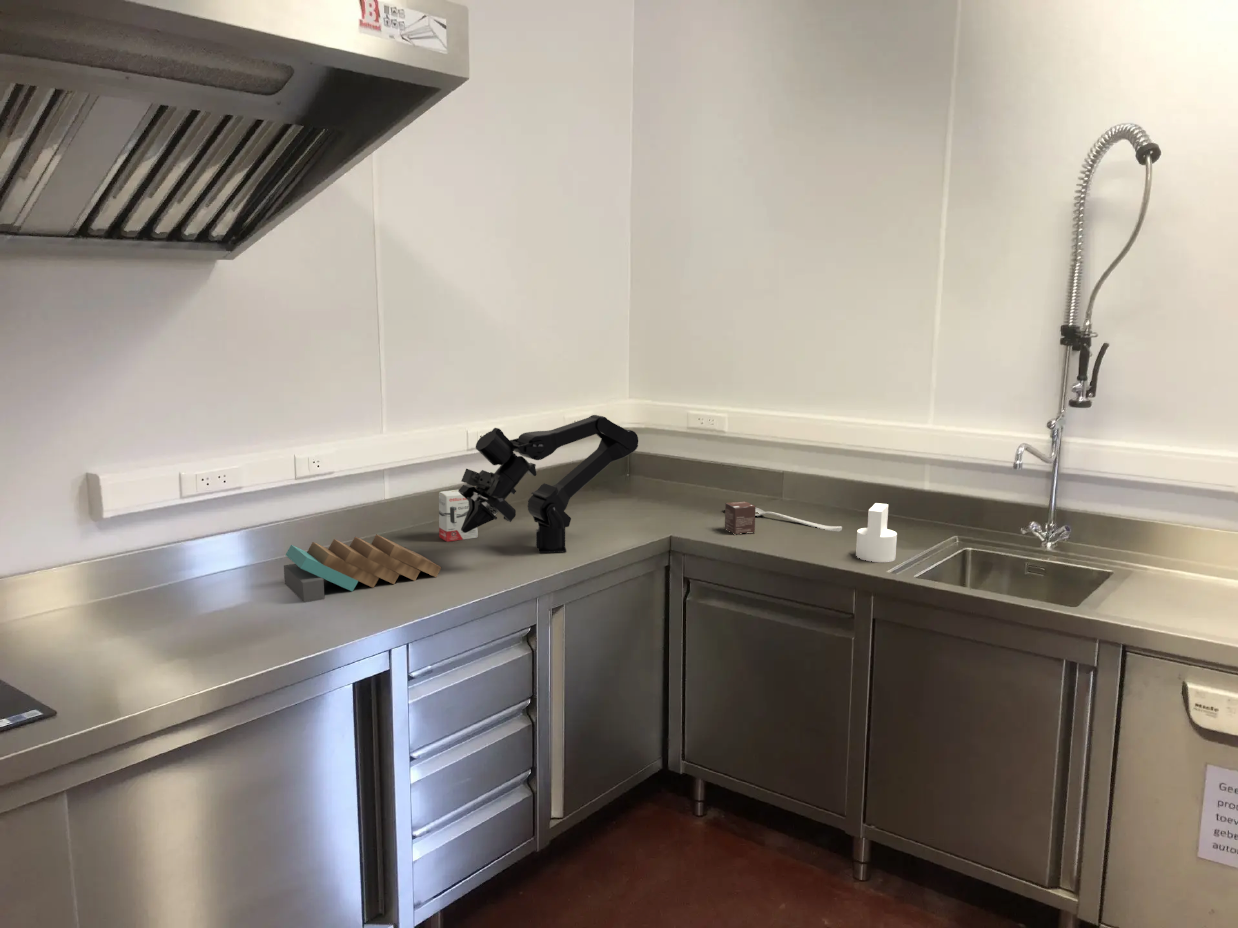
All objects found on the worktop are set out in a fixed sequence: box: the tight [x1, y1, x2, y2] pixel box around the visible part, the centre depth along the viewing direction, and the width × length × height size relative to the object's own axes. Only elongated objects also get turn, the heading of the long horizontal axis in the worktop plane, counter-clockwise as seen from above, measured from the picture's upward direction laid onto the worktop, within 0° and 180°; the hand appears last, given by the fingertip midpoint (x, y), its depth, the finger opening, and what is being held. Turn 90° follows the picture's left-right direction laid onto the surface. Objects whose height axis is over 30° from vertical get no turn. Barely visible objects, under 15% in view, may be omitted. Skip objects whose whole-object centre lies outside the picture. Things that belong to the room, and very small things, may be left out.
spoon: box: [755, 507, 843, 532], centre depth 248 cm, size 35×8×3 cm, turn 52°
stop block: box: [283, 563, 325, 603], centre depth 184 cm, size 4×14×4 cm, turn 35°
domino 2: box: [306, 541, 380, 589], centre depth 188 cm, size 2×11×12 cm
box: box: [724, 501, 757, 535], centre depth 235 cm, size 6×6×7 cm
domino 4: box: [349, 536, 421, 582], centre depth 193 cm, size 2×11×12 cm
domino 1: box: [285, 544, 359, 592], centre depth 186 cm, size 2×11×12 cm
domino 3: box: [327, 538, 401, 585], centre depth 190 cm, size 2×11×12 cm
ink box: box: [438, 489, 479, 543], centre depth 226 cm, size 8×5×12 cm, turn 123°
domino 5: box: [370, 534, 442, 578], centre depth 196 cm, size 2×11×12 cm
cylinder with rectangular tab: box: [855, 502, 898, 563], centre depth 213 cm, size 9×9×12 cm
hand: (462, 531), depth 203 cm, fingers closed
